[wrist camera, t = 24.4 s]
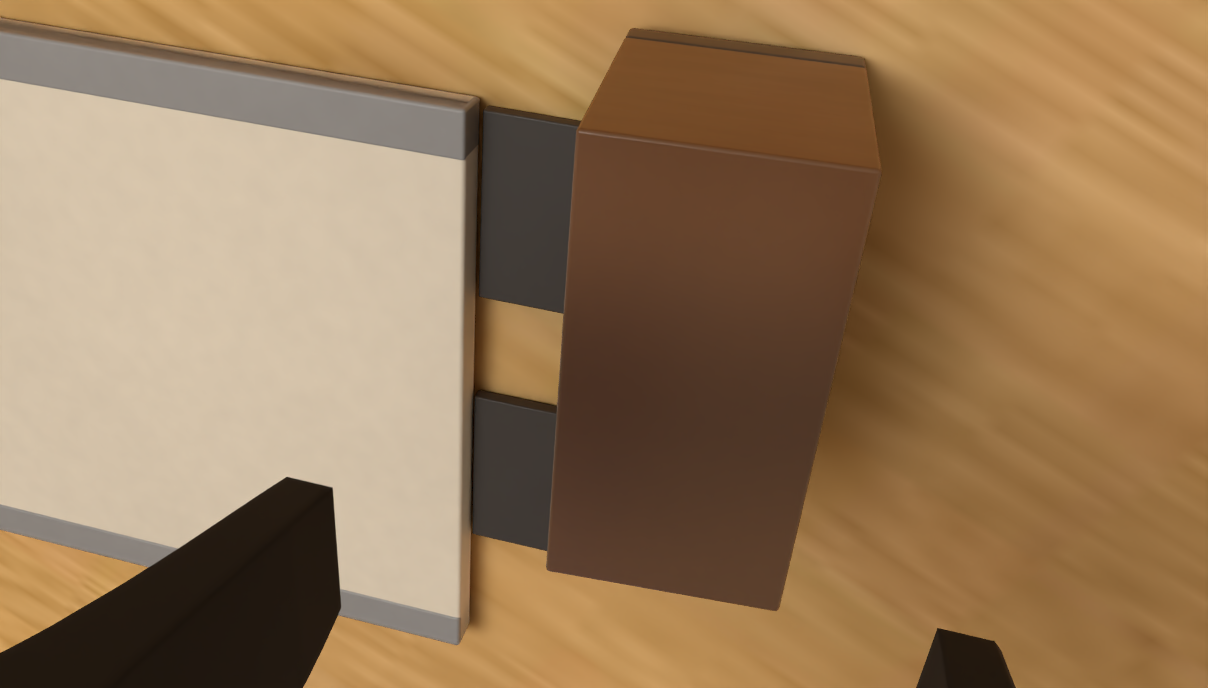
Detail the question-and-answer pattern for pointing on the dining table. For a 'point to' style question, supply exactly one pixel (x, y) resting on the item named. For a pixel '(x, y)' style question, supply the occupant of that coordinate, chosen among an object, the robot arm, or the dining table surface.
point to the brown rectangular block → (705, 309)
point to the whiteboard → (237, 308)
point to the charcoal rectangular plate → (513, 469)
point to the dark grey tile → (525, 207)
